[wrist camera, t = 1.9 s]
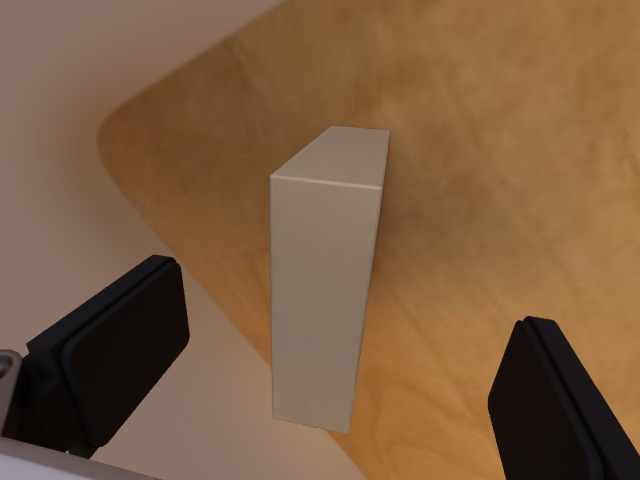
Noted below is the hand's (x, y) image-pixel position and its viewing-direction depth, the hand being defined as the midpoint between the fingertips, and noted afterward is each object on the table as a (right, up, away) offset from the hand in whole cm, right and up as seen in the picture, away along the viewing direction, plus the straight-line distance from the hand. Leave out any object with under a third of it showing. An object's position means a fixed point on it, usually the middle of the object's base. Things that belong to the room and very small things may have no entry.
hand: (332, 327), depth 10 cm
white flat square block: (+1, +4, +6) cm, 7 cm away
